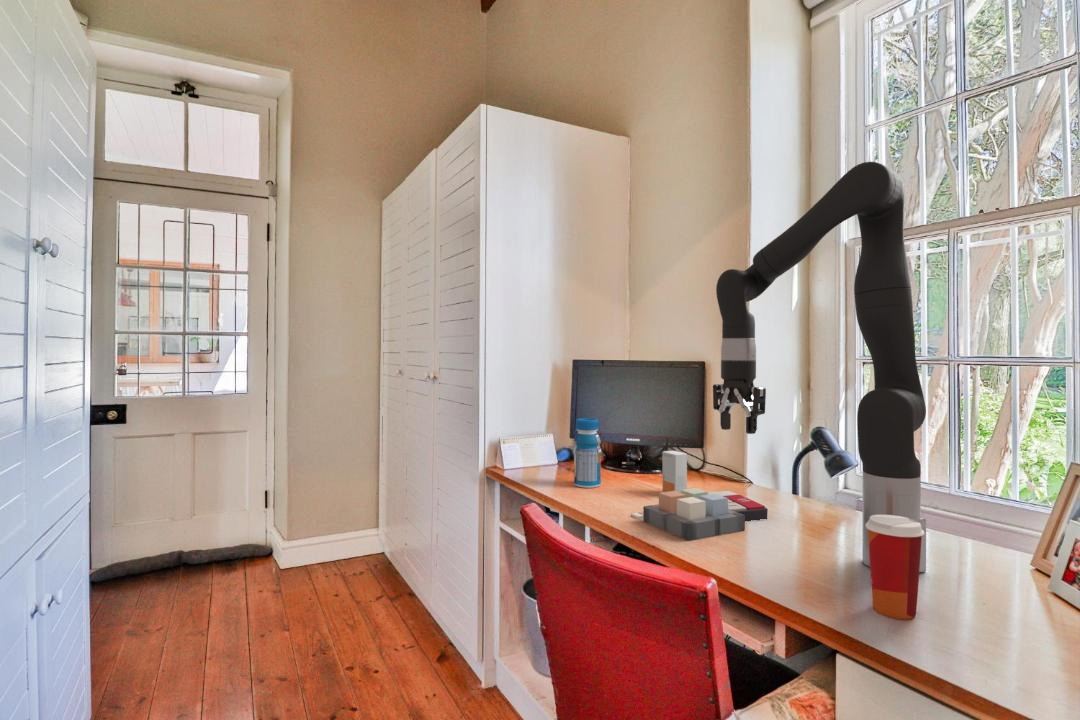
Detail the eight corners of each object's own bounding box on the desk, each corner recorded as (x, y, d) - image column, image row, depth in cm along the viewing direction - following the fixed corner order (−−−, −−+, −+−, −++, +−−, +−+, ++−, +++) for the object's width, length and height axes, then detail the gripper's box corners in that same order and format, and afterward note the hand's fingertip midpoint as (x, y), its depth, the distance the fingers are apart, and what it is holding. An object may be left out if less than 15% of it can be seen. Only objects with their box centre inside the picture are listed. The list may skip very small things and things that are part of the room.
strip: (690, 510, 144) (690, 507, 144) (638, 518, 137) (638, 515, 137) (683, 507, 147) (683, 505, 147) (631, 515, 140) (631, 512, 140)
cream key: (705, 519, 126) (705, 501, 126) (689, 522, 124) (689, 503, 124) (692, 514, 130) (692, 496, 130) (676, 516, 128) (676, 499, 128)
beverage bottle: (583, 489, 167) (583, 421, 167) (568, 484, 174) (567, 418, 174) (607, 486, 171) (606, 419, 171) (591, 481, 178) (591, 417, 178)
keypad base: (744, 530, 128) (744, 514, 128) (688, 540, 121) (688, 524, 121) (696, 512, 142) (696, 498, 142) (643, 521, 135) (643, 506, 135)
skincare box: (661, 493, 163) (661, 451, 163) (673, 491, 164) (673, 450, 164) (675, 498, 157) (675, 454, 157) (687, 496, 159) (687, 453, 159)
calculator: (729, 509, 133) (693, 491, 148) (728, 527, 134) (693, 507, 148) (768, 505, 137) (730, 488, 151) (768, 523, 137) (729, 504, 151)
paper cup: (901, 600, 92) (902, 513, 91) (936, 622, 84) (936, 527, 84) (854, 601, 91) (854, 513, 91) (884, 623, 84) (884, 528, 84)
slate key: (727, 515, 129) (727, 498, 129) (712, 518, 127) (712, 500, 127) (714, 510, 133) (714, 493, 133) (699, 513, 131) (699, 495, 131)
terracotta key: (686, 512, 132) (686, 494, 132) (670, 514, 130) (670, 497, 130) (673, 507, 136) (673, 490, 136) (658, 509, 134) (658, 492, 134)
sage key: (707, 508, 135) (707, 491, 135) (693, 511, 133) (693, 493, 133) (695, 504, 139) (695, 487, 139) (680, 506, 137) (680, 489, 137)
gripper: (775, 358, 125) (775, 434, 125) (727, 358, 138) (727, 426, 138) (750, 359, 121) (749, 436, 122) (703, 358, 134) (703, 428, 135)
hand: (737, 431), depth 130 cm, fingers open, 7 cm apart
